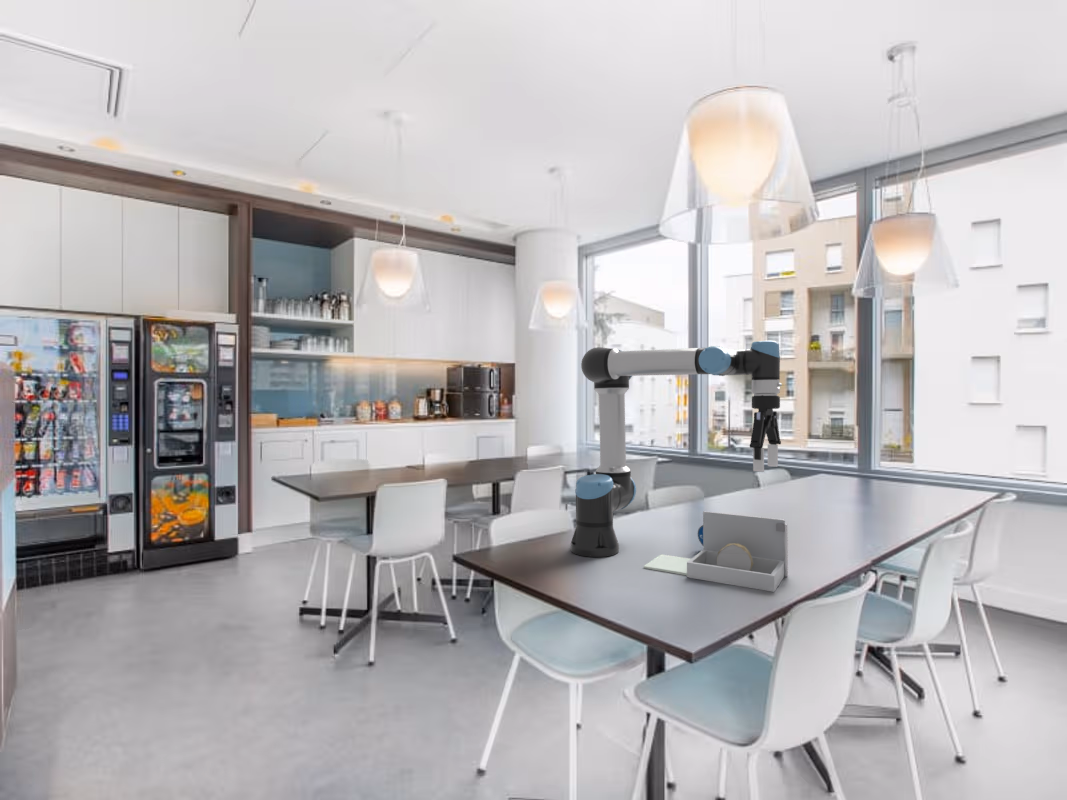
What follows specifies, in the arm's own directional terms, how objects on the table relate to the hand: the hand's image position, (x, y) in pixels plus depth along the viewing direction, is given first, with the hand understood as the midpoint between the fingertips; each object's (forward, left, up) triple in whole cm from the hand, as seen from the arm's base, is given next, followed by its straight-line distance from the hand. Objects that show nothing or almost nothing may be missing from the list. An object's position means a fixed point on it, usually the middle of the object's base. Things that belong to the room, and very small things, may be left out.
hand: (765, 468), depth 164 cm
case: (-5, -15, -28) cm, 32 cm away
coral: (-5, -15, -28) cm, 32 cm away
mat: (-22, -14, -28) cm, 38 cm away
